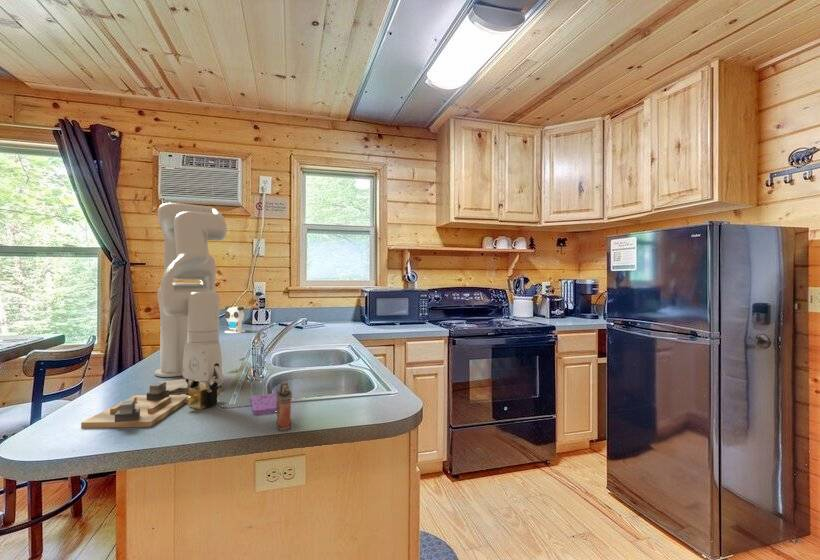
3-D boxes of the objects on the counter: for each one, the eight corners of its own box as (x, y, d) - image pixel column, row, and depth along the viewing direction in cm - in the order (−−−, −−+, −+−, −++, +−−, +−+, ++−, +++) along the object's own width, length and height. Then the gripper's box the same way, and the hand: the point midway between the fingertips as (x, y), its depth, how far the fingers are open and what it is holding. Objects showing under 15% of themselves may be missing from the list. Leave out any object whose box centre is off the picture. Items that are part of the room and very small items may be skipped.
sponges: (276, 399, 114) (276, 392, 114) (282, 413, 102) (282, 406, 102) (250, 402, 111) (250, 395, 111) (253, 417, 99) (253, 409, 99)
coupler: (193, 412, 101) (193, 392, 101) (181, 409, 103) (181, 390, 103) (222, 402, 109) (223, 384, 109) (211, 399, 111) (212, 382, 111)
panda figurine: (219, 332, 231) (219, 306, 231) (234, 329, 242) (235, 305, 241) (234, 333, 226) (234, 307, 226) (249, 331, 237) (249, 306, 237)
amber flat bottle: (275, 420, 96) (276, 379, 96) (290, 418, 98) (290, 378, 97) (276, 432, 89) (277, 388, 89) (292, 430, 90) (293, 387, 90)
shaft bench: (134, 399, 109) (134, 381, 109) (190, 399, 111) (191, 380, 111) (80, 428, 89) (80, 405, 89) (150, 426, 91) (150, 404, 91)
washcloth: (151, 390, 120) (152, 380, 120) (217, 382, 130) (217, 372, 130) (153, 401, 110) (153, 390, 110) (223, 391, 120) (223, 381, 120)
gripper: (168, 336, 106) (168, 403, 106) (213, 341, 99) (213, 413, 99) (194, 332, 113) (194, 395, 113) (238, 337, 105) (237, 405, 106)
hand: (202, 403), depth 106 cm, fingers open, 5 cm apart
